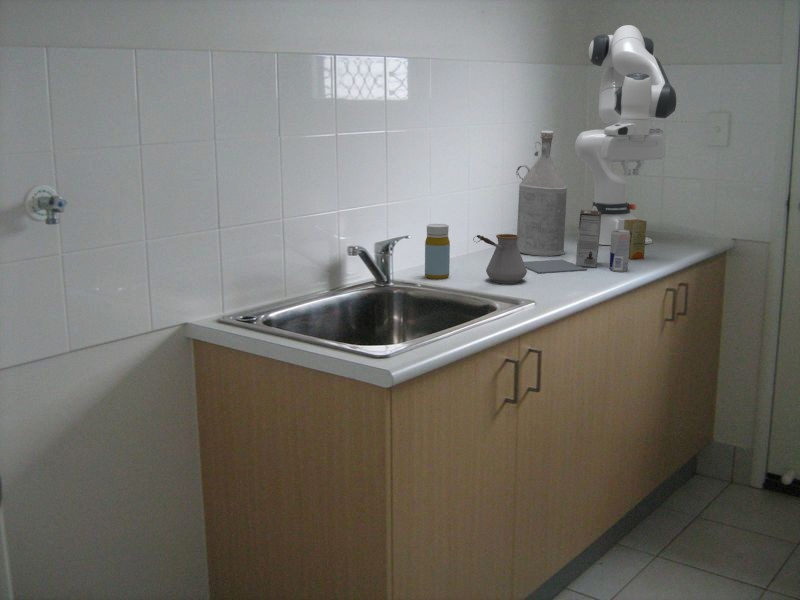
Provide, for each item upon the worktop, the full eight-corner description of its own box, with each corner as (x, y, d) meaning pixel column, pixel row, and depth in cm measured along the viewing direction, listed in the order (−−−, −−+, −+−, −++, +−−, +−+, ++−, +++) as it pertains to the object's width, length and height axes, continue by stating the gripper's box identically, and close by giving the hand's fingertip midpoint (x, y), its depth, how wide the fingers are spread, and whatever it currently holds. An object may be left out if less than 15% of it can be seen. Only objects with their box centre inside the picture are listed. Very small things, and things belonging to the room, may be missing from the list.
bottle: (420, 275, 257) (421, 224, 253) (442, 273, 259) (443, 223, 256) (431, 280, 251) (431, 227, 247) (453, 278, 253) (454, 226, 250)
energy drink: (615, 267, 268) (617, 228, 266) (631, 270, 265) (633, 230, 262) (605, 270, 265) (608, 230, 262) (621, 272, 261) (623, 232, 258)
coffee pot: (500, 274, 258) (501, 223, 255) (534, 280, 251) (536, 227, 248) (457, 287, 242) (458, 233, 239) (492, 293, 235) (494, 237, 232)
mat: (562, 260, 279) (562, 259, 279) (587, 270, 264) (587, 269, 264) (515, 263, 275) (515, 262, 275) (538, 273, 260) (538, 272, 260)
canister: (522, 247, 303) (526, 128, 293) (570, 252, 294) (576, 130, 284) (506, 252, 292) (510, 130, 283) (555, 258, 283) (561, 132, 274)
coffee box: (575, 260, 278) (580, 209, 274) (596, 262, 277) (601, 211, 273) (575, 265, 269) (580, 213, 266) (596, 267, 268) (602, 214, 264)
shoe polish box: (630, 259, 281) (632, 222, 278) (621, 256, 286) (624, 219, 283) (643, 258, 283) (646, 221, 280) (635, 256, 287) (637, 219, 284)
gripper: (658, 128, 273) (655, 173, 276) (599, 128, 267) (597, 174, 271) (670, 128, 267) (667, 175, 271) (610, 129, 262) (607, 176, 265)
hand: (631, 175), depth 271 cm, fingers closed
